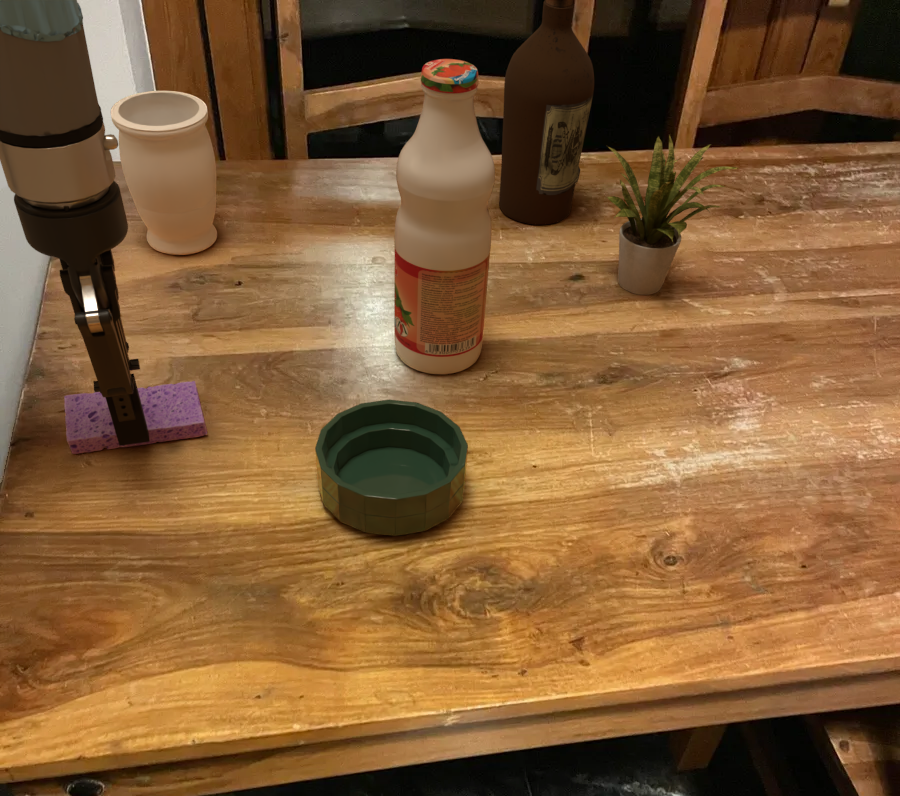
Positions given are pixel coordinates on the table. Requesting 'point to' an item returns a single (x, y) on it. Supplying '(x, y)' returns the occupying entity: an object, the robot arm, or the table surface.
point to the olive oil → (545, 119)
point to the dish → (391, 467)
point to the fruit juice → (443, 226)
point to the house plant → (655, 219)
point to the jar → (169, 168)
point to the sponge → (164, 409)
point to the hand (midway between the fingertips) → (134, 438)
